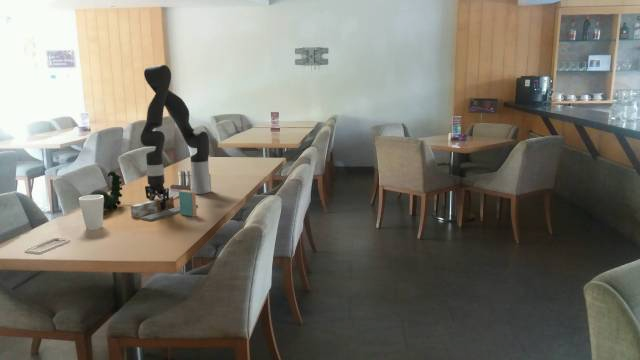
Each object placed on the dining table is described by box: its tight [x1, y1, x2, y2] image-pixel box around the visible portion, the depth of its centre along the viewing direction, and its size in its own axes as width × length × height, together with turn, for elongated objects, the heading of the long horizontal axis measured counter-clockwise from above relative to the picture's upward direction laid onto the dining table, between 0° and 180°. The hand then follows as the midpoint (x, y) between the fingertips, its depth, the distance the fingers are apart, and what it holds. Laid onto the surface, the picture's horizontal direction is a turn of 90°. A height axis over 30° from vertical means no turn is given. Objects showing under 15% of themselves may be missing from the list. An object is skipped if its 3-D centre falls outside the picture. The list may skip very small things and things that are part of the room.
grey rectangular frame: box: [24, 237, 71, 255], centre depth 191 cm, size 7×1×15 cm
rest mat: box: [140, 204, 199, 222], centre depth 236 cm, size 28×6×1 cm, turn 148°
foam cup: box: [78, 194, 104, 231], centre depth 213 cm, size 10×9×13 cm
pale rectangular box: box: [130, 195, 175, 218], centre depth 238 cm, size 22×3×5 cm, turn 148°
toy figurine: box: [89, 170, 123, 211], centre depth 240 cm, size 9×19×25 cm
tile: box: [178, 189, 198, 217], centre depth 231 cm, size 2×8×11 cm, turn 58°
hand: (158, 208), depth 241 cm, fingers open, 6 cm apart
